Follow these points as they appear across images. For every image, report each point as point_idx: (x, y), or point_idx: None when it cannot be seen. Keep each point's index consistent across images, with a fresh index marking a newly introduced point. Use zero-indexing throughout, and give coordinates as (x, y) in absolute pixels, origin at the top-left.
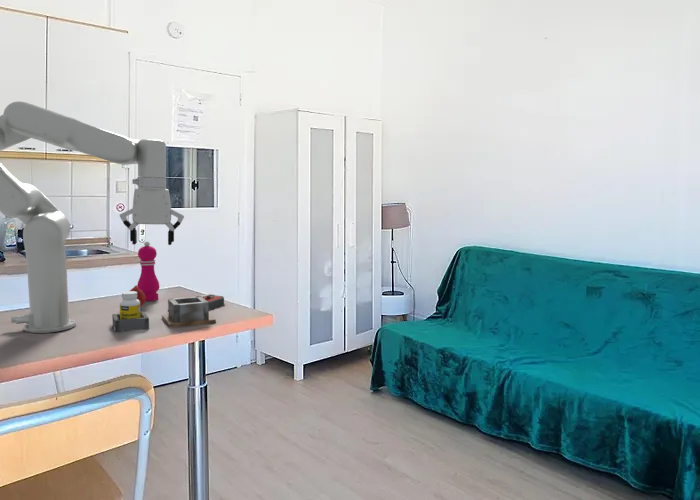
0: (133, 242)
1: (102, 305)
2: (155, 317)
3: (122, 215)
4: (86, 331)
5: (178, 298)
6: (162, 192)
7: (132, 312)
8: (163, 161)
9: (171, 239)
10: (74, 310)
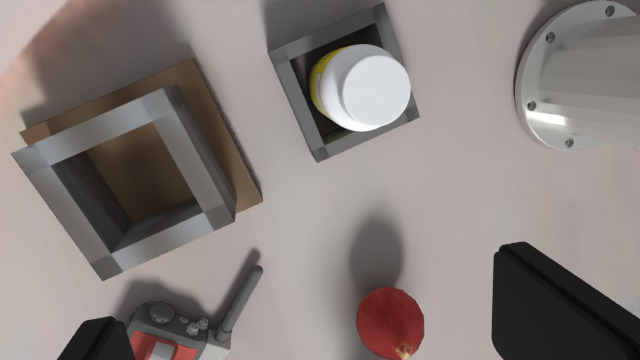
0: (522, 248)
1: (487, 345)
2: (289, 210)
3: None
4: (466, 24)
5: (190, 230)
6: None
7: (336, 51)
8: None
9: None
10: None
